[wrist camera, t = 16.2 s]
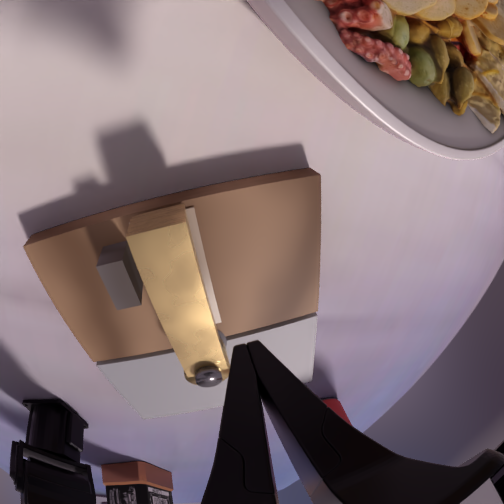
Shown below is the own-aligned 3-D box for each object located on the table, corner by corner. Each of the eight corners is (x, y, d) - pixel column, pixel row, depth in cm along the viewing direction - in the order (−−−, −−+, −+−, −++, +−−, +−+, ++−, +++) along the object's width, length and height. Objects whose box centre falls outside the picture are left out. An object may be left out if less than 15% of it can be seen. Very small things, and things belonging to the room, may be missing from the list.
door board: (95, 347, 20) (91, 382, 17) (31, 234, 14) (10, 265, 11) (310, 298, 23) (328, 329, 20) (309, 167, 17) (337, 186, 14)
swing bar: (228, 356, 21) (236, 386, 19) (188, 365, 21) (192, 396, 18) (187, 202, 14) (191, 227, 12) (127, 217, 14) (119, 244, 11)
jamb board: (142, 407, 26) (143, 420, 25) (87, 335, 19) (83, 351, 18) (306, 370, 29) (312, 382, 27) (310, 284, 22) (319, 298, 21)
